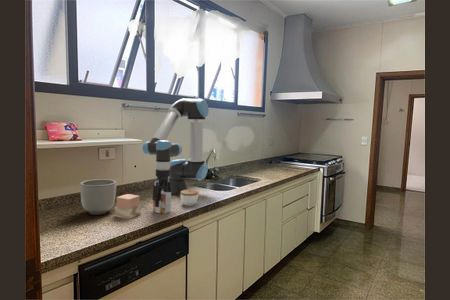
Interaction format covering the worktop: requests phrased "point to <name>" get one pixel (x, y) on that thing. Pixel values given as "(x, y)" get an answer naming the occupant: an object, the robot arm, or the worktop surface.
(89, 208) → the planter
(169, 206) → the small box
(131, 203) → the terracotta block
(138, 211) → the clear square container
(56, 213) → the worktop surface
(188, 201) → the lidded jar
